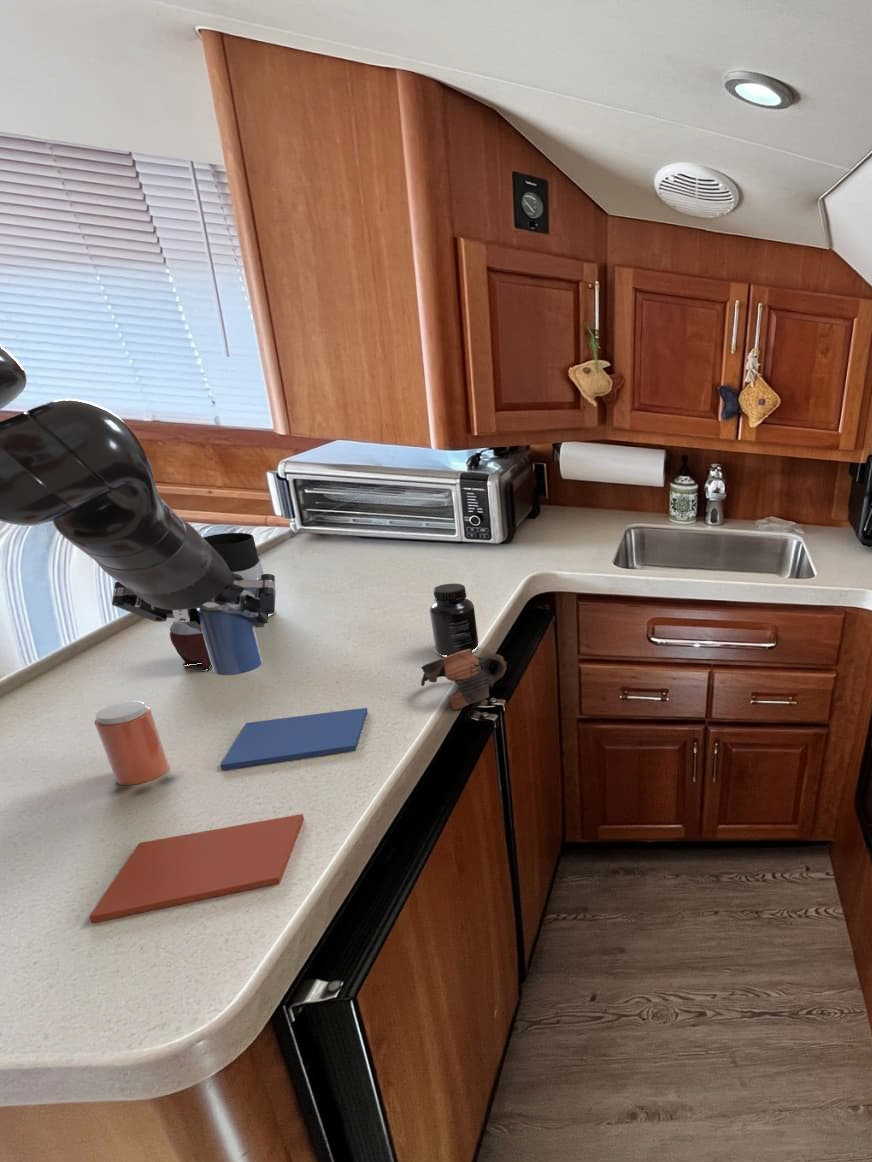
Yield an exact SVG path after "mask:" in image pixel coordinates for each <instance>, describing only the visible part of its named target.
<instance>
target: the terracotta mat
mask: <svg viewBox="0 0 872 1162" xmlns="http://www.w3.org/2000/svg"><path fill="white" fill-rule="evenodd" d="M304 820H305V817H304V814H303V813H300V814H294V815H289V816H283V817H282V816H281V817H277V818H272V819H271V818H270V819H267V820H260V821H254V822H250V823H244V824H238V825H237V824H236V825H233V826H226V827H220V828H215V829H210V830H204V831H199V832H194V833H187V834H182V835H177V836H171V837H165V838H159V839H154V840H147V841H142V842H139V843H138V844H137V846H136V847H135V848H134V850H133V851H132V853H131V855H130V856H129V857H128V859H127V860H126V862H125V863H124V865H123V866H122V868H121V869H120V871H119V872H118V874H117V875H116V877H115V878H114V880H113V881H112V883H111V884H110V886H108V889H107V890H106V891H105V893H104V894H103V896H102V898H101V899H100V900H99V902H98V903H97V904H96V906H95V908H94V909H93V911H92V912H91V914H90V915H89V920H90V922H91V923H92V924H94V923H99V922H103V921H108V920H113V919H118V918H122V917H126V916H127V917H128V916H132V915H137V914H141V913H146V912H151V911H154V910H160V909H164V908H170V907H174V906H179V905H184V904H188V903H193V902H198V901H203V900H207V899H213V898H218V897H222V896H227V895H231V894H236V893H241V892H245V891H249V890H254V889H258V888H264V887H268V886H273V885H278V884H281V881H282V878H283V876H284V874H285V870H286V868H287V865H288V863H289V860H290V857H291V854H292V852H293V849H294V847H295V844H296V842H297V839H298V836H299V835H300V831H301V828H302V825H303V823H304Z"/></svg>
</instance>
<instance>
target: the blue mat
mask: <svg viewBox="0 0 872 1162" xmlns="http://www.w3.org/2000/svg"><path fill="white" fill-rule="evenodd" d="M367 711H368V712H369V710H368V707H361V708H353V709H346V710H345V709H344V710H337V711H330V712H322V713H313V714H306V715H297V716H289V717H283V718H282V717H281V718H273V719H266V720H258V721H251V722H245V724H244V726H243V728H242V729H241V731H240V732H239V734H238V736H237V737H236V739H235V740H234V742H233V744H232V745H231V747H230V748H229V750H228V752H226V753H227V754H226V755H225V757H224V758H223V760H222V761H221V764H220V769H221V771H227V770H231V769H238V768H245V767H253V766H259V765H265V764H272V763H278V762H285V761H286V762H288V761H294V760H299V759H306V758H314V757H319V756H327V755H333V754H340V752H341V753H347V752H353V751H352V750H354V751H357V748H358V745H357V744H359V742H358V741H360V739H361V735H362V732H363V729H362V727H363V728H364V726H363V724H364V725H365V723H364V721H365V722H366V719H365V717H366V718H367V716H366V714H367V715H368V713H367ZM361 731H362V732H361ZM360 734H361V735H360ZM356 747H357V748H356Z"/></svg>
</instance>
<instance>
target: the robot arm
mask: <svg viewBox="0 0 872 1162" xmlns="http://www.w3.org/2000/svg"><path fill="white" fill-rule="evenodd" d="M27 381H28V379H27V374H26V371H25V369H24V368H23V366H22V365H21V364H20V363H19V362H18V360H17V359H16V358H15V357H14V356H13V355H12V354H11V353H10V352H9V351H7V349H5V348H4V347H3V346H2V345H1V344H0V411H1V410H2V409H4V408H5V407H7V406H8V405H9V404H11V403H12V402H13V401H14V400H16V399H17V398H18V397H19V396H20V395H21V394H22V393H23V391H24V390H25V388H26V385H27ZM0 522H3V523H7V524H9V525H16V526H21V527H22V526H23V527H24V526H26V527H33V526H41V525H44V524H48V523H50V522H52V524H53V525H54V528H55V529H56V530H57V532H58V533H59V534H60V535H61V536H62V537H64V539H66V540H67V541H69V542H70V543H71V544H72V545H74V546H75V547H76V548H77V549H79V550H80V551H81V552H83V553H84V554H86V555H87V556H88V557H90V558H92V559H93V561H95V562H96V563H97V565H98V566H99V567H100V568H101V569H102V570H103V572H105V573H106V574H108V576H109V577H111V578H112V579H114V580H115V582H114V587H113V592H112V600H111V605H112V606H114V607H116V608H119V609H121V610H124V611H127V612H129V613H132V614H135V615H136V616H139V617H142V618H144V619H147V620H150V621H153V622H157V623H163V622H166V621H167V620H168V619H174V621H177V622H184V623H186V624H187V625H188V626H190V627H191V628H194V629H198V630H199V631H200V632H202V630H201V626H200V622H199V619H198V615H197V612H196V608H203V607H209V608H216V609H219V610H221V611H224V612H226V613H228V614H236V613H238V614H241V615H243V616H245V618H246V619H247V620H248V621H249V622H250V623H252V624H253V625H254V628H258V629H259V628H264V627H265V624H268V623H269V618H268V614H273V613H274V612H275V610H276V594H277V593H276V577H275V576H276V575H274V574H272V573H264V574H262V575H261V579H256V580H244V579H243V577H242V576H240V575H238V574H235V573H233V572H231V571H230V569H229V567H228V566H227V564H226V562H225V561H224V559H223V558H222V557H221V556H220V555H219V554H218V553H217V552H216V551H215V550H214V549H213V547H212V546H211V545H210V544H209V543H208V542H207V541H206V540H205V539H204V538H203V536H202V535H201V533H199V532H198V530H196V528H195V527H193V526H192V525H191V524H190V523H188V522H187V521H186V520H184V519H183V518H181V516H179V515H178V514H177V513H176V512H175V511H174V510H173V509H172V508H171V507H170V506H169V505H168V504H167V502H166V501H164V499H163V498H162V497H161V496H160V493H159V491H158V488H157V485H156V481H155V475H154V472H153V468H152V464H151V462H150V459H149V457H148V454H147V452H146V449H145V447H144V445H143V444H142V442H141V440H140V439H139V437H138V436H137V435H136V433H135V431H134V430H133V429H131V427H130V426H129V425H128V424H127V423H126V422H125V421H124V420H123V419H121V418H120V417H119V416H118V415H116V414H115V413H113V412H112V411H110V410H108V409H107V408H104V407H102V406H100V405H98V404H95V403H92V402H88V401H86V400H85V401H84V400H79V399H71V398H66V399H58V400H53V401H49V402H47V403H43V404H40V405H39V406H38V405H37V406H35V407H34V408H30V409H28V410H27V411H26V412H20V413H19V414H16V415H13V416H11V417H8V418H6V419H3V420H0ZM248 591H250V592H248Z"/></svg>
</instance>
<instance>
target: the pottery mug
mask: <svg viewBox="0 0 872 1162" xmlns="http://www.w3.org/2000/svg"><path fill="white" fill-rule="evenodd" d="M493 663H495V664H496V669H495V671H494V672H493V673H492V672H491V671H490V670H489V669H490V667H491V664H493ZM479 667H480V669H479ZM420 669H421V670H422V672H423V674H422V678H421V680H420V685H421V687H424V686H425V683H426V682H427V681H428V682H430V683H437V681H438V679H439V678H442V677H443V678H444V677H445V678H446V679H447V680H448V681H450V682H454V683H455V684H456V685H457V687H458V688H459V690H460V691H458V692H456V693H455V694H453V695H450V696H448V697H447V699H448V702H449V703H450V705H451V708H452V709H453V711H456V710H459V709H462V708H465V707H467V706H470V705H472V704H475V703H479V702H482V701H484V700H486V699H488V698H489V697H490V689H492V688H493V686H494V685H495V683H496V682H497V681H499V680H500V679H501V678H503V677H504V675H505V673H506V671H507V669H508V662H507V661H505V657H504V656H502V655H500V654H498V653H491V654H487V655H484V656H477V655H475V654H474V653H472V650H471V649H467V650H463V651H460V652H457V653H455V654H452V655H449V656H447V657H441V658H438V659H436V660H432V661H431V662H428V663H426V664H424V665H423V666H421V667H420Z"/></svg>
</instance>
